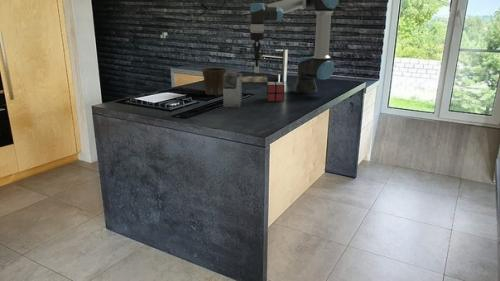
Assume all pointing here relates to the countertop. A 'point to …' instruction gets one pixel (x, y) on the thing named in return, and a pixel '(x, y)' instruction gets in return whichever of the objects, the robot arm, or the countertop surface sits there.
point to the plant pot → (214, 80)
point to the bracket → (233, 94)
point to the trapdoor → (231, 79)
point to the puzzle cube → (275, 91)
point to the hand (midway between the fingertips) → (256, 71)
